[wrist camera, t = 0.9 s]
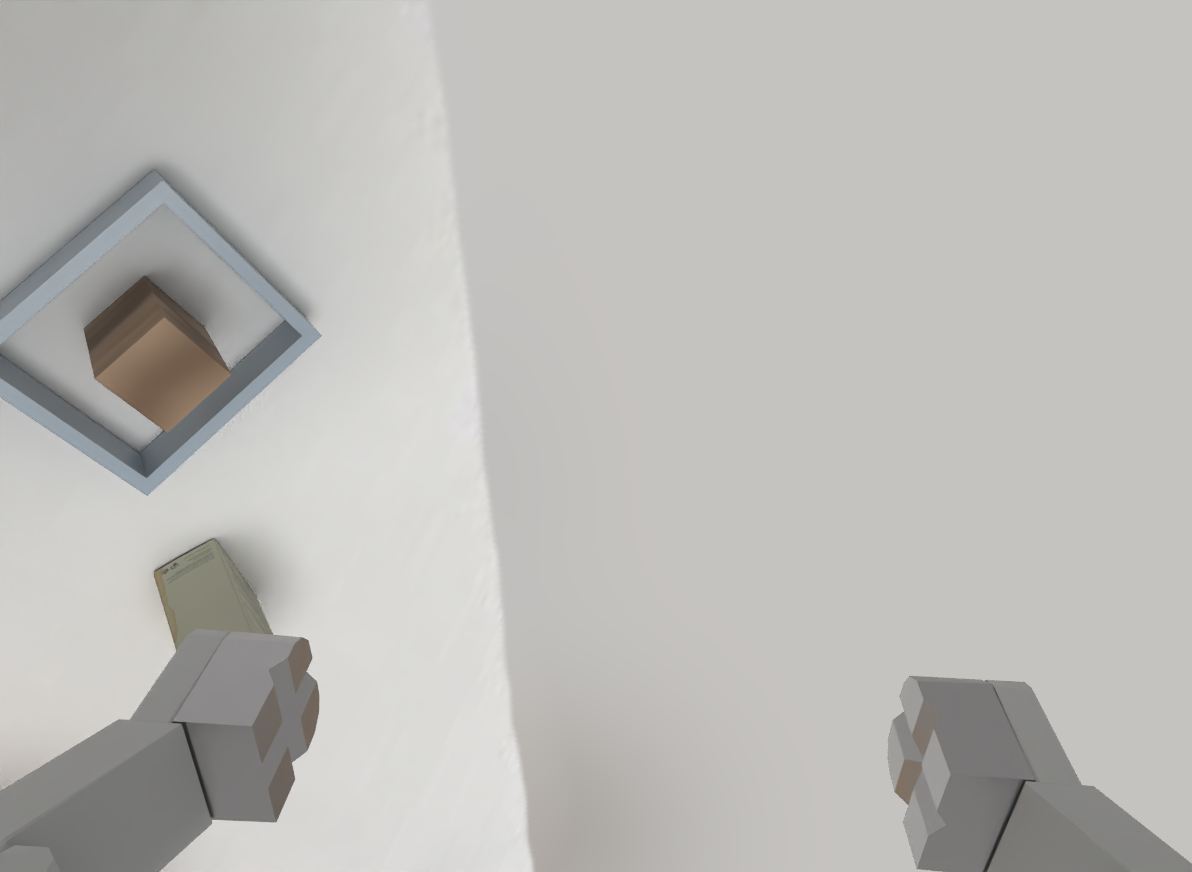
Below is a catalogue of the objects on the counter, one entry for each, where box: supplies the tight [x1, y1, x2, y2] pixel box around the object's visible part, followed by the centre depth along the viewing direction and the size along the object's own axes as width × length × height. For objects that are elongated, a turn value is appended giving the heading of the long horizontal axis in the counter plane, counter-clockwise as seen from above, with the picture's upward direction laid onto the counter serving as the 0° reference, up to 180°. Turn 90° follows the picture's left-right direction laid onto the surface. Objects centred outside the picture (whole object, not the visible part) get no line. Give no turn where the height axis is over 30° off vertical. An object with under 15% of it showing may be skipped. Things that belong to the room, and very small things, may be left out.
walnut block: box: [84, 276, 232, 433], centre depth 46 cm, size 4×4×8 cm
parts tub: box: [0, 170, 321, 496], centre depth 48 cm, size 12×14×4 cm
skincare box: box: [154, 539, 273, 651], centre depth 53 cm, size 6×4×12 cm
